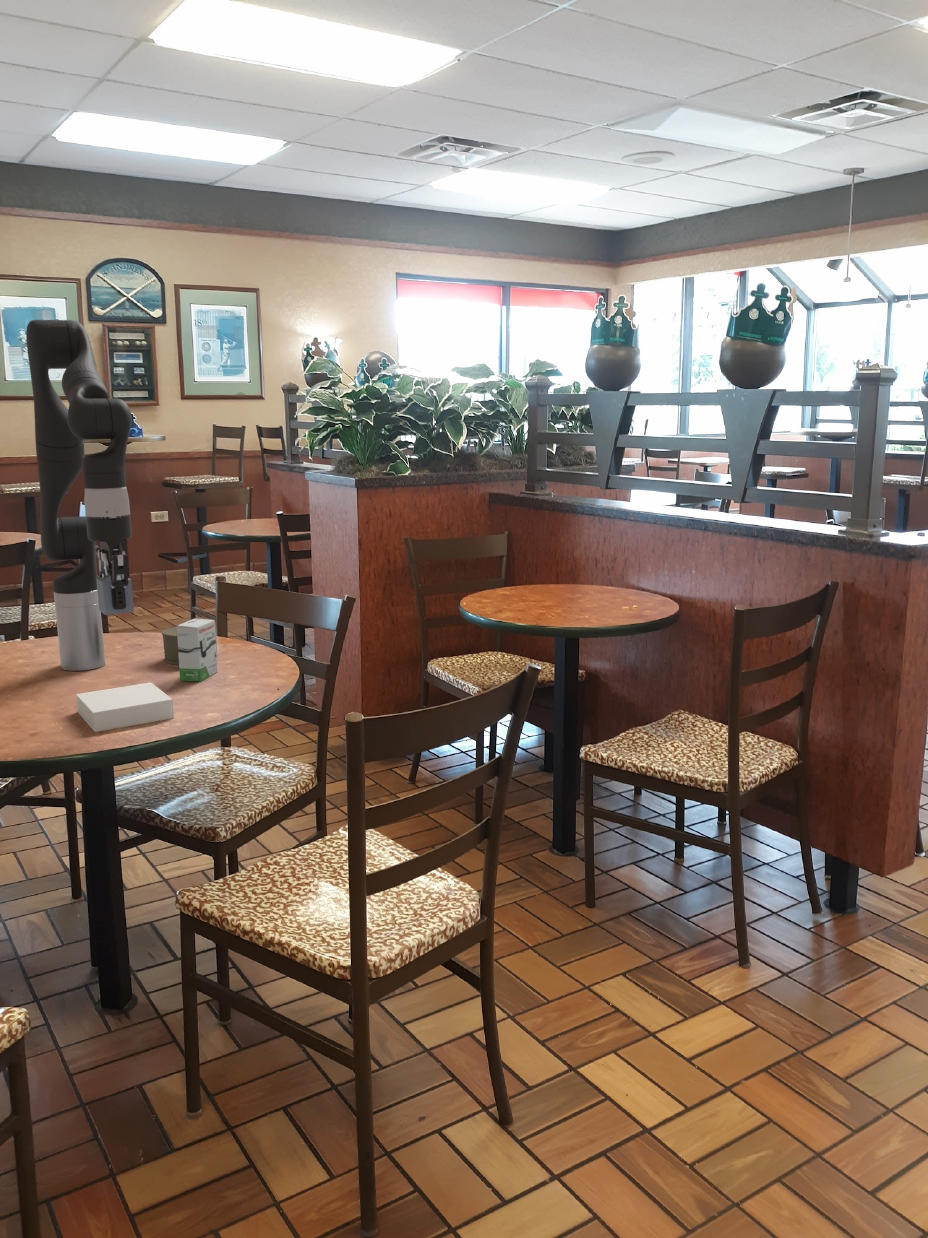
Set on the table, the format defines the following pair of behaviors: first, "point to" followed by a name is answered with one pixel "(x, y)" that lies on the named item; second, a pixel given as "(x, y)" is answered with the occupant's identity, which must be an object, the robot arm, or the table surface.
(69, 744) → the table surface
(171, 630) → the can
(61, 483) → the robot arm
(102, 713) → the white square slab
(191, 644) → the ink box
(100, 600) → the slate block
